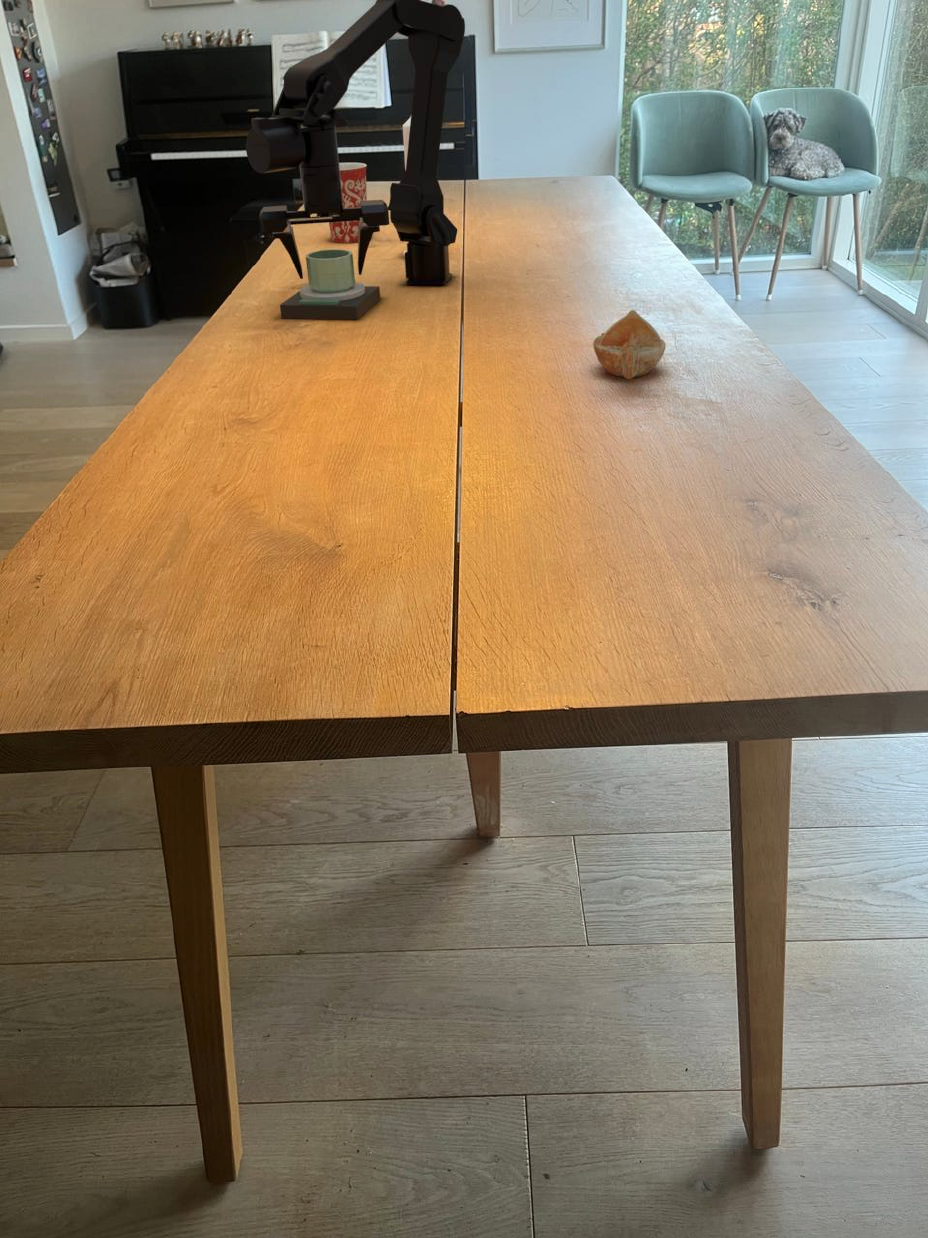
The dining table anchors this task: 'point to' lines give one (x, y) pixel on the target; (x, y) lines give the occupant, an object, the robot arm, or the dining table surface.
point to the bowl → (330, 270)
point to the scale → (331, 303)
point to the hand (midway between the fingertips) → (330, 276)
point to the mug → (350, 201)
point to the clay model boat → (629, 347)
